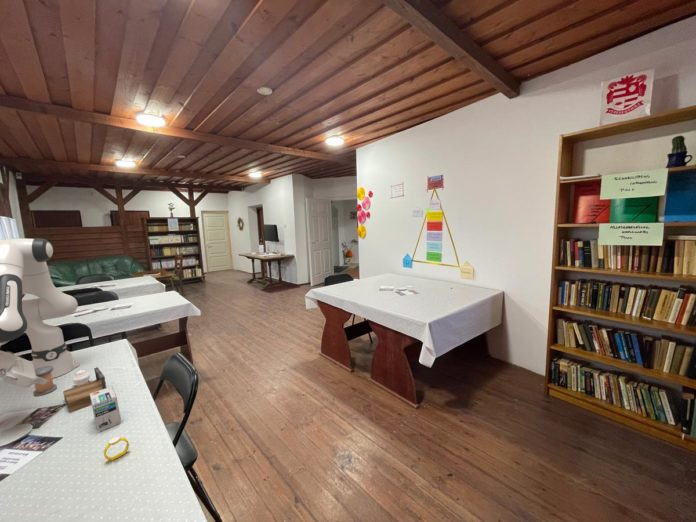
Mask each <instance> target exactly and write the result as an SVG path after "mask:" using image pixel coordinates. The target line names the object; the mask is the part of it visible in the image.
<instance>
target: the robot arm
mask: <svg viewBox="0 0 696 522" xmlns="http://www.w3.org/2000/svg"><path fill="white" fill-rule="evenodd" d="M53 253H54V247H53V245H52V243H51V242H50V241H49V240H47V239H44V238H39V237H38V238H36V237H35V238H23V237H22V238H17V237H16V238H7V239H6V238H5V239H0V348H1V346H3V345H5V344H7V343H8V342H10V341H13V340H15V339H18V338H20V337H21V336H22V335H24V334H26V335H27V337H28V340H29V342H30V345H31V346H30V347H31V353H30V354H31V357H32V360H27V359H25V358H23V357H20V356H18V355H16V354H15V353H14V352H12V351H4V350H0V378H3V381H4V382H6V383H10V384H11V385H14V386H18V387H22V388H27V389H28V388H30V387H31V386H32V385H33V384H34V383H40V384H46V382H47V381H48V379H47V378H41V377H38V376H36V373H35V369H37V368H41V367H45V366H53V371H51V374H52V379H54V378H58V377H60V376H63V375H66V374H68V373H69V372H71V371H73V370H74V369H77V368H78V367H80V363H78V362H76V361H74V357H73V353H72V352H71V351H69V350H67V349H68V347H67V344H66V342H65V340H64V334H63V329H61V328H60V326H56V325H50V324H47V323H45V322H44V321H45V320H46V321H48V320H52V319H56V318H57V319H59V318H63V317H66V316H69V315H73V314H74V313H75V312H76V311H77V308H78V306H79V304H78V301H77V299H76V298H75V297H74V296H72V295H69V294H67V293H64V292H63V291H61V290H60V289H58V288H57V287H56V286H55V285H54V282H53V280H52V278H51V277H52V276H51V275H50V274H51V273H50V271H49V267H48V264H47V262H46V261H50V259H52V257H53ZM23 293H24V294H28V295H32V296H35V297H37V298H31V299H23Z"/></svg>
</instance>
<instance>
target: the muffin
mask: <svg viewBox="0 0 696 522" xmlns="http://www.w3.org/2000/svg"><path fill="white" fill-rule="evenodd" d="M90 377H91V373H90V372H88V371H86V370H85V369H81V370H77V371H76V372H75V375H74V376H73V377H72V378H71V379H72V380H71V381H72V382H73V384H75V385H76V387H77V386H80V385H83V384H85V383H88V382H89V380H90Z"/></svg>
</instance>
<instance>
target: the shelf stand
mask: <svg viewBox="0 0 696 522" xmlns="http://www.w3.org/2000/svg"><path fill="white" fill-rule="evenodd" d="M93 370H94V374H95V379H94V380H92V381H88V383H85V384H83V385H80V386H77V385H76V386H75V387H71V388H68V389H65V390H63V392H62V393H63V398H64V401H65V402H66V403H67V405H68V411H69V413H74V412H76V411H79V410H81V409H84V408H86V407H90V406H92V404H91V399H90V394H91V393H93V392H97V391H100V390H103V389H106V388H107V384H106V378H105V375H104V374H103V372H102V371H101V370H100V368H99V367H98V366H97V367H95V368H94V367H93Z"/></svg>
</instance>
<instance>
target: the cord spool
mask: <svg viewBox="0 0 696 522" xmlns="http://www.w3.org/2000/svg"><path fill="white" fill-rule="evenodd" d="M51 371H53V366H45V367H41V368H37V369H35V373H36V376H38V377H41V378H47V379H48V381H47V382H46V384H40V383H33V384H34V389H35V390H34V391H33V392H32V395H33V397H43V396H46V395H49V394H51V393H53V392H56V391H57V389H58V385H57V384H54V380H53V379H54V378H52V374H51Z"/></svg>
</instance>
